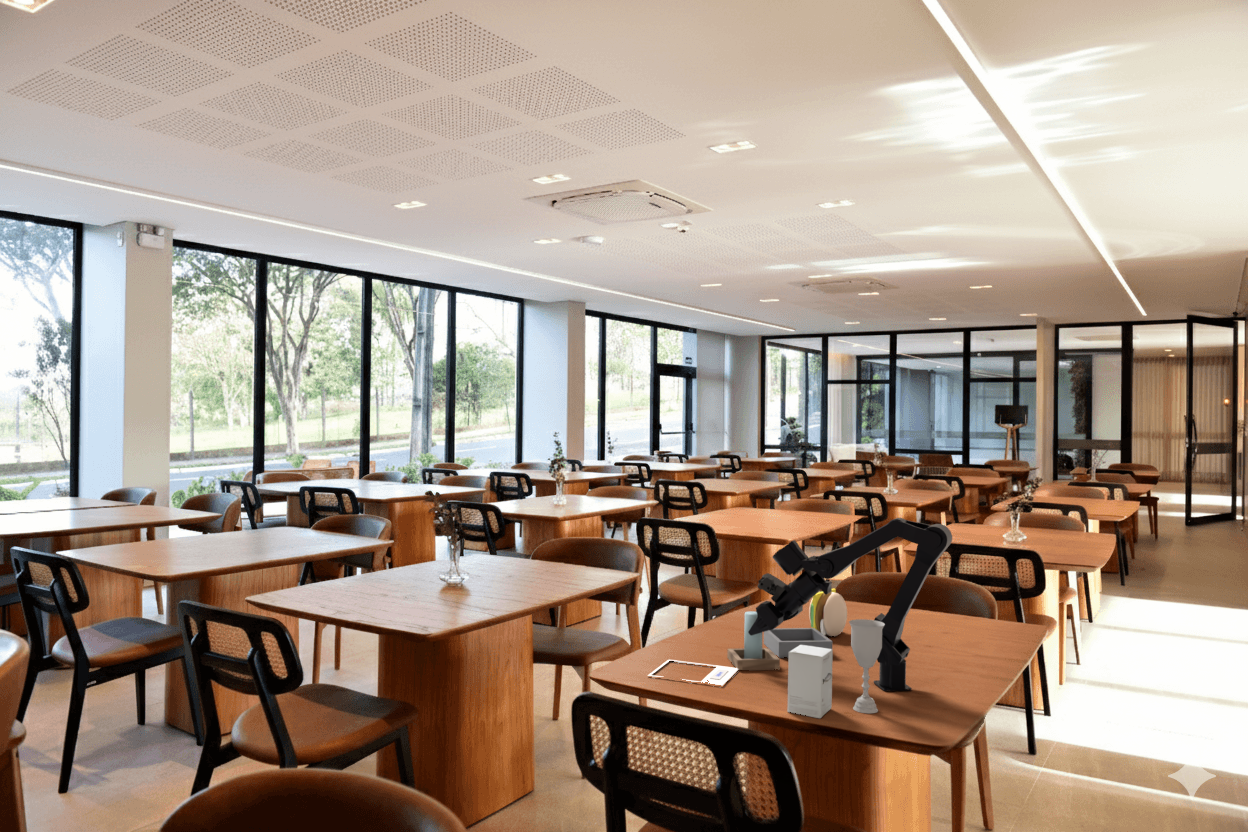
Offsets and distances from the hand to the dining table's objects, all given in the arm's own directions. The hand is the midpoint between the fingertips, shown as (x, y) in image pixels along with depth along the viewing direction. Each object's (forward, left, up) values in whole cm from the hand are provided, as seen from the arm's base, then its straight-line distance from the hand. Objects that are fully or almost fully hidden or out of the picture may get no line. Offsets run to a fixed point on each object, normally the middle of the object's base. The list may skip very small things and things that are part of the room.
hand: (756, 630), depth 212 cm
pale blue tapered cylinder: (0, +1, -8) cm, 9 cm away
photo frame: (-6, +17, -9) cm, 20 cm away
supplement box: (-34, -2, -9) cm, 35 cm away
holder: (0, +1, -8) cm, 9 cm away
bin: (+12, -14, -8) cm, 21 cm away
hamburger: (+27, -28, -9) cm, 40 cm away
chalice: (-34, -14, -9) cm, 37 cm away
